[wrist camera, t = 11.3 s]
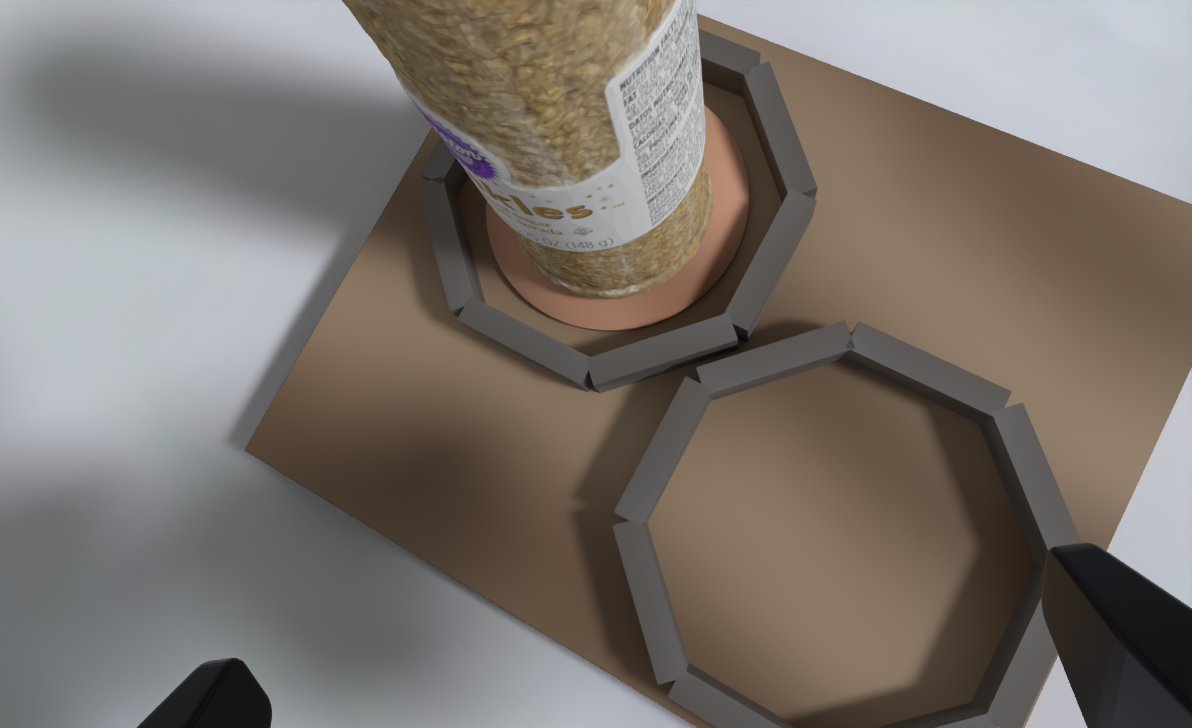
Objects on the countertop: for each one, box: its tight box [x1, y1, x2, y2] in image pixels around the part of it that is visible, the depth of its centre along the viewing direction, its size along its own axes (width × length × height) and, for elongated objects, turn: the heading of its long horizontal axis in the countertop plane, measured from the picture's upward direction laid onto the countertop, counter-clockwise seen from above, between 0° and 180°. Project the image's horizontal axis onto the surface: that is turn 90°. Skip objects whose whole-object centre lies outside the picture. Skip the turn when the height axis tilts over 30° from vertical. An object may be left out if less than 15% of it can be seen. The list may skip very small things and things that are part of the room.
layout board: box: [245, 13, 1192, 728], centre depth 18 cm, size 14×17×2 cm
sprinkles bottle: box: [342, 0, 713, 300], centre depth 12 cm, size 5×5×13 cm
